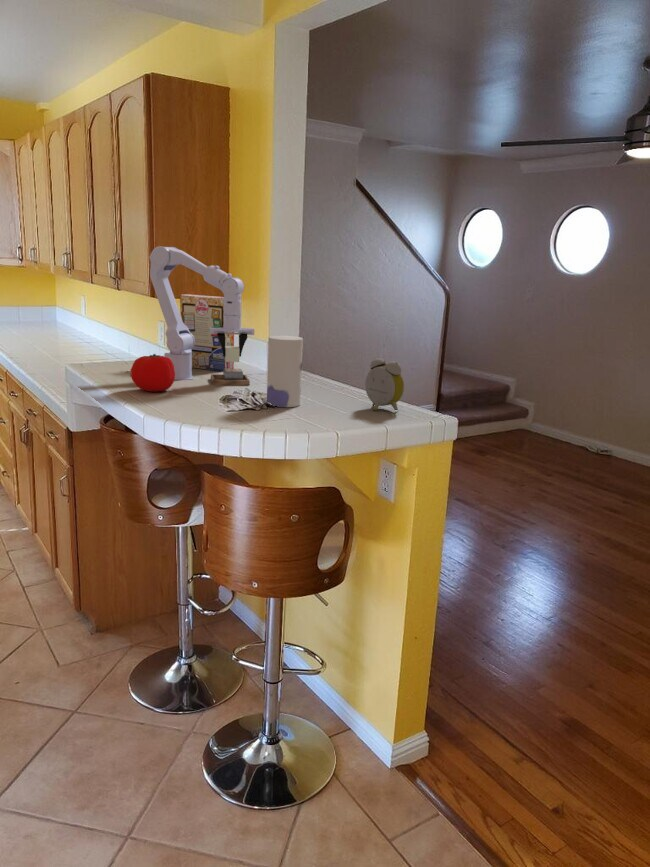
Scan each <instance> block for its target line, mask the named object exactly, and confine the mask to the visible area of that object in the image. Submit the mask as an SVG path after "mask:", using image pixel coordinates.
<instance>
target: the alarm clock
mask: <svg viewBox="0 0 650 867" xmlns="http://www.w3.org/2000/svg"><path fill="white" fill-rule="evenodd" d="M369 367H370V371H369V372H368V373H367V375H366V377H365V382H364V388H365V393H366V395H367V397H368V399H369V400H370V401H371V403H372V406H373V405H375V406H373V409H372V411H373V410H375V411H377V409H378V408H379V407H385V406H392V408H393V410H394V411H395V410H398V405H397V403H398V402H399V401H400V400H401V399H402V397H403V395H404V393H405V392H404V391H405V380H404V378H403V376H402V366H401V364H400V363H399V362H398V361H395V360H392V361H389V362H387V363H386V360H384V359H383V358H379V357H378V358H377V357H375V358H374V359H373V360H372V361H371V363H370V366H369ZM398 411H399V410H398Z"/></svg>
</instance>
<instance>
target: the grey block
mask: <svg viewBox="0 0 650 867" xmlns="http://www.w3.org/2000/svg"><path fill="white" fill-rule="evenodd" d="M222 374H223V380H243V375H244V371H243V370H242V369H241V368H234V369H223V371H222Z"/></svg>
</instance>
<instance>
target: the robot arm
mask: <svg viewBox="0 0 650 867" xmlns="http://www.w3.org/2000/svg"><path fill="white" fill-rule="evenodd" d="M149 260H150V269H149V270H150V272H149V277H150V280H151V284H152V287H153V289H154V291H155V294H156V298H157V301H158V303H159V306H160V310H161V312H162V316H163V318H164V321H165V324H166V326H167V327H166V330H165V338H166V343H165V344H166V347H167V349H168V351H169V352H164V355H165V356H164V355H163V356H164V357H168V358H169V359H170V360H171V361H172V363H173V365H174V370H175V380H174V381H177V380H179V381H180V380H181V381H183V380H184V381H185V380H186V381H187V380H188V381H192V380H193V381H194V376H193V372H192V371H193V368H192V348H193V347H194V345H195V339H194V336H193V335H192V334H191V333H190V331H189V329H188V327H187V326H186V325H185V324H184V323H183V321H182V318H181V314H180V308H179V307H178V305H177V301H176V298H175V295H174V292H173V290H172V287H171V283H170V280H169V276H170V275H171V273H172V271H173V270H174V269H176V267H177V266H178V265H182V266H183V267H186V268H188V269H190V270H192V271H194V272H196V273H197V274H199V275H202V277H203V280H204V282H206V283H208V284H209V285H211V286H213V287H215V288H217V289H218V290H220V291H221V292H222V294H223V297H224V328H210V334H217V336H218V338H219V341H220V343H221V347H222V351H223V356H225V354H226V352H225V338H226V337H225V334H234V335H238V347H239V348H240V350H239V358H240V357H242V352H243V349H244V346H245V344H246V341H247V340H248V336H255V329H254V328H246V327H242V293H243V292H244V291H245V290H244V289H245V283H244V281H243V280H242V279H241V278H240V277H237V276H234V277H233V276H232V275H233V274H232V273H230V272H229V273H227V272H226V271H224V270H222V269H221V267H220V266H219V265H206V264H204V263H203V262H201V261H200V260H198V259H196V258H195V257H193V256H191V255H190V254H188V253H187V252H185V251H184V250H181V249H178V248H177V247H175V246H162V245H159V246H156V247H154V248H153V250H152V251H151V253H150V255H149ZM227 332H234V333H227Z"/></svg>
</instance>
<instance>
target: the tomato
mask: <svg viewBox="0 0 650 867" xmlns="http://www.w3.org/2000/svg"><path fill="white" fill-rule="evenodd" d="M164 356H165V355H159V354H156V353H153V354H150V355H143V356H140V357H138V358H136V359H134V362H133V363H132V364H131V365H132V366H131V369H130V377H131V380H132V383H134V385H135V386H136V387H138V388H139V389H140V390H143V391H147V392H162V391H167V390H169V389H170V388H171V387H172V385H173V384H174V382H175V381H176V380H175V370H174V365H173V363H172V361H171V360H170V359H169V358H168V357H164Z"/></svg>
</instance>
